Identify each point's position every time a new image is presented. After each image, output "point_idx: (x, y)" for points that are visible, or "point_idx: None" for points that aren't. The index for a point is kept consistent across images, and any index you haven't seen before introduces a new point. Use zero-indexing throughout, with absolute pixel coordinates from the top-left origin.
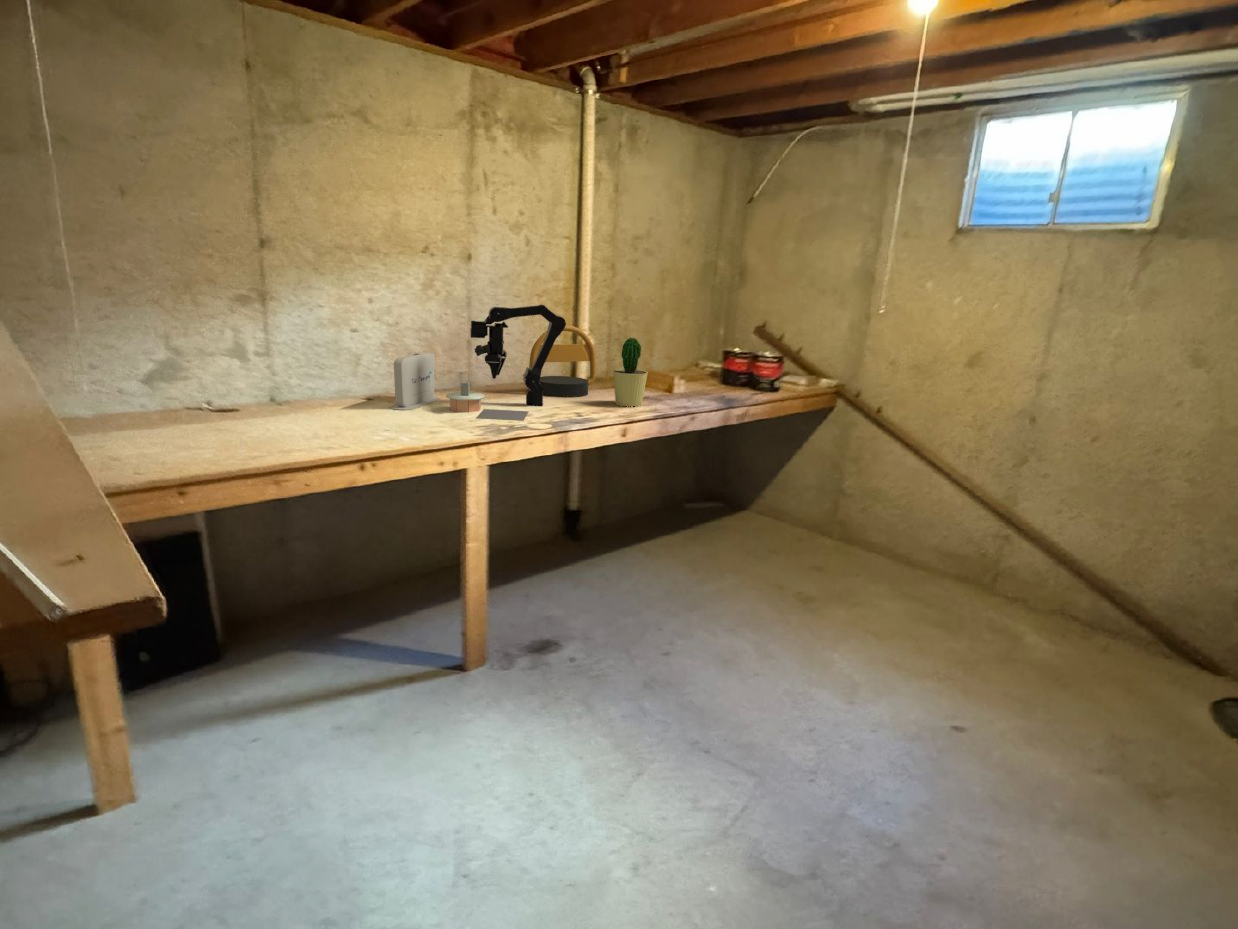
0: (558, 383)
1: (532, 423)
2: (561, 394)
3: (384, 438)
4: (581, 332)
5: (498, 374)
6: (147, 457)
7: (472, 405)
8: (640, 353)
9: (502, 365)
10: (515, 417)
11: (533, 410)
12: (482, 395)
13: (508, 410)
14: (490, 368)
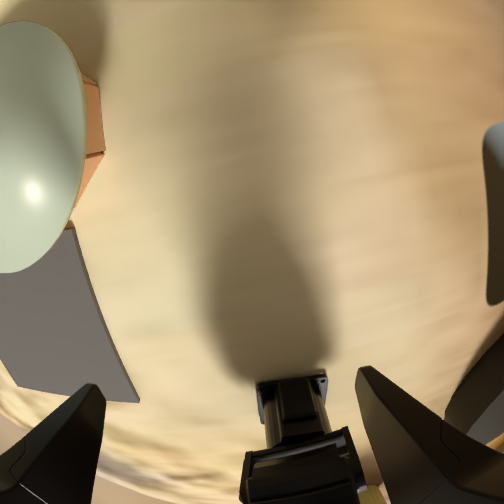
0: (478, 422)
1: (24, 400)
2: (453, 408)
3: None
4: None
5: (357, 390)
6: None
7: None
8: None
9: (390, 497)
10: (28, 368)
11: (188, 408)
12: (16, 256)
13: (104, 341)
14: (5, 452)
